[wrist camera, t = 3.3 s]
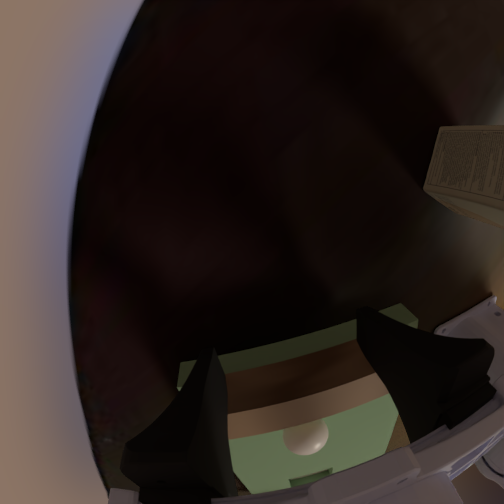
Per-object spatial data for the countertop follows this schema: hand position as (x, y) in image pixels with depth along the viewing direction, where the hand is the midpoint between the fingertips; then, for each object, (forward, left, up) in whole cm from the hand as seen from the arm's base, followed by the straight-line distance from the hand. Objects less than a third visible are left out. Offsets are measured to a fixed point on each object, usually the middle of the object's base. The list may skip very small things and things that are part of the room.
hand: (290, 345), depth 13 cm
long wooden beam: (0, +3, -1) cm, 4 cm away
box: (-14, -6, -4) cm, 16 cm away
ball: (0, +9, 0) cm, 9 cm away
